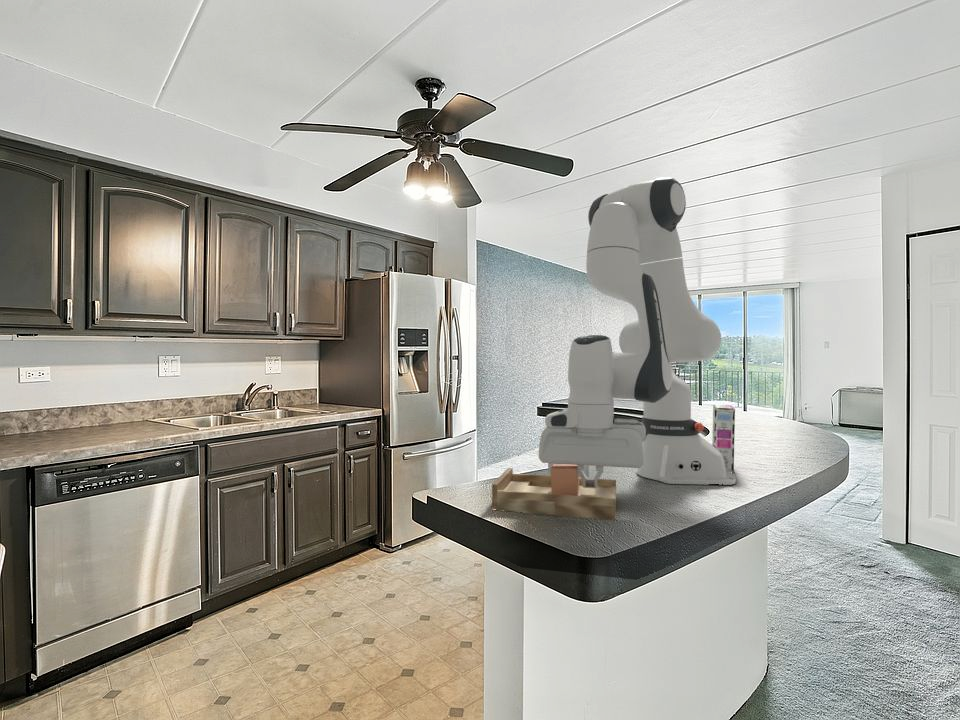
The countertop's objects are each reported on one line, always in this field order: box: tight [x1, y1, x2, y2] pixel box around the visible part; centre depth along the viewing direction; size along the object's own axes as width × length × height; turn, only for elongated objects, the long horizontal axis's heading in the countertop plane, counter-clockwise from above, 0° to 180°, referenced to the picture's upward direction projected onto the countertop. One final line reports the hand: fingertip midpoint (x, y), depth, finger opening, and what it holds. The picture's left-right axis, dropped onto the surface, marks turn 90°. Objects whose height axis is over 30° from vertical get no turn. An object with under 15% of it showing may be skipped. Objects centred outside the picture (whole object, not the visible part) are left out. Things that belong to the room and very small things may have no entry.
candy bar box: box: [711, 404, 736, 474], centre depth 136 cm, size 11×5×16 cm, turn 158°
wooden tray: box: [491, 467, 617, 521], centre depth 104 cm, size 23×15×5 cm, turn 75°
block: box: [551, 464, 579, 495], centre depth 103 cm, size 5×5×5 cm
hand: (590, 487), depth 102 cm, fingers closed
